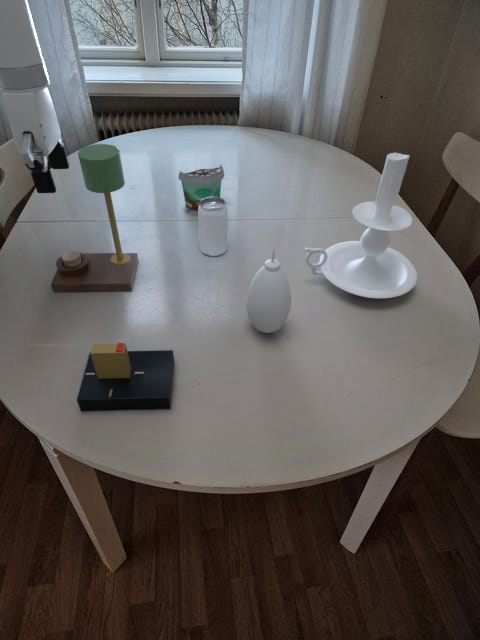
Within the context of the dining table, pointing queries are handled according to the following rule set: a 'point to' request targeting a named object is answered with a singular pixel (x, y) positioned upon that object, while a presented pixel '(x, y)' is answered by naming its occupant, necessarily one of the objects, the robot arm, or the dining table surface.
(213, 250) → the can
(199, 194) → the food container
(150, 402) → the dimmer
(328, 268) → the candlestick
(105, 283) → the lamp base
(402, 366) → the dining table surface
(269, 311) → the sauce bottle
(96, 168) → the lamp
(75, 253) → the lamp button
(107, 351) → the yellow upright block
